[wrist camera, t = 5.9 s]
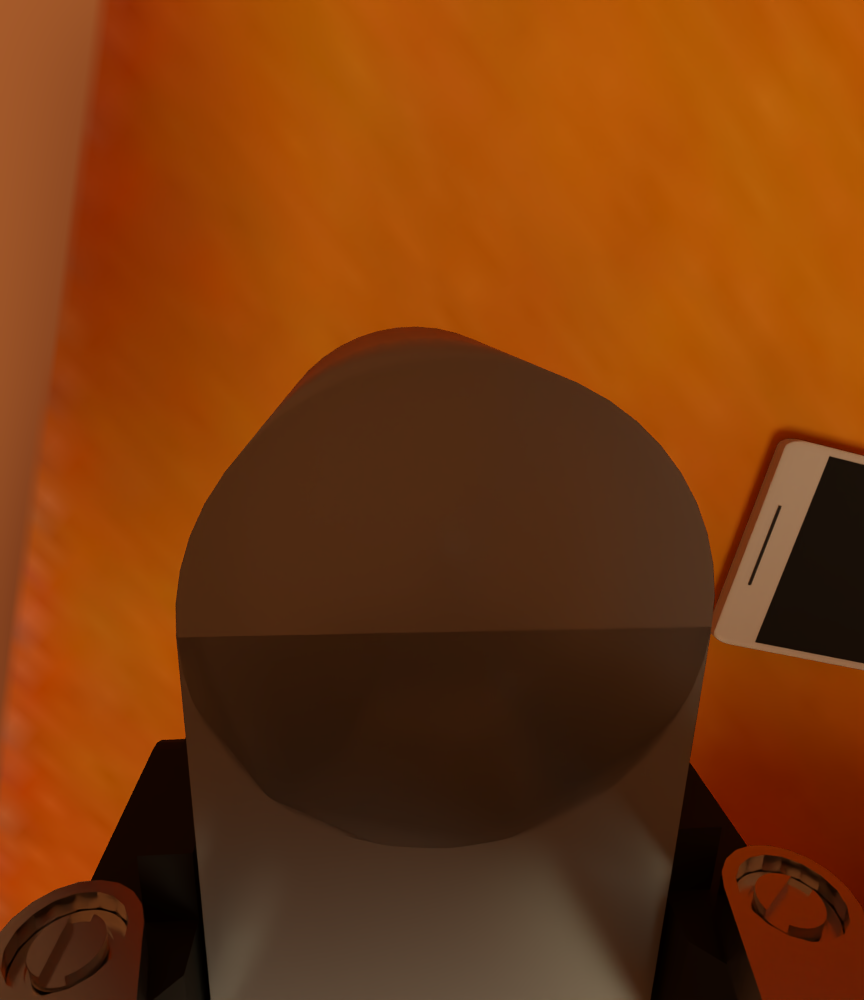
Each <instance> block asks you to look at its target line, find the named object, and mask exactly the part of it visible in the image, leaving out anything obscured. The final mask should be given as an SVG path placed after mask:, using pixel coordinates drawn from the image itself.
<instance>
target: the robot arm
mask: <svg viewBox="0 0 864 1000" xmlns="http://www.w3.org/2000/svg"><path fill="white" fill-rule="evenodd" d="M0 1000H211V996H210V986H209V975H208V965H207V954H206V944H205V933H204V923H203V912H202V902H201V891H200V881H199V870H198V860H197V849H196V839H195V828H194V818H193V807H192V797H191V786H190V776H189V765H188V755H187V744H186V738H185V739H176V740H161V741H159V742H157V744H156V746H155V747H154V749H153V751H152V753H151V755H150V757H149V759H148V761H147V763H146V766H145V768H144V770H143V772H142V774H141V776H140V778H139V780H138V782H137V784H136V787H135V789H134V791H133V793H132V795H131V797H130V799H129V801H128V803H127V806H126V808H125V810H124V812H123V814H122V816H121V818H120V820H119V822H118V825H117V827H116V829H115V831H114V833H113V835H112V837H111V839H110V841H109V844H108V846H107V848H106V850H105V852H104V854H103V856H102V858H101V860H100V863H99V865H98V867H97V869H96V871H95V873H94V875H93V877H92V879H91V881H85V882H78V883H75V884H72V885H68V886H65V887H62V888H59V889H56V890H54V891H52V892H50V893H49V894H47V895H45V896H43V897H41V898H39V899H37V900H36V901H34V902H32V903H31V904H30V905H28V906H27V907H26V908H25V909H23V910H22V911H21V912H20V913H18V914H17V915H16V916H14V917H13V918H12V919H11V920H10V921H9V922H8V924H7V925H6V926H5V927H4V928H3V929H2V931H1V932H0ZM651 1000H864V911H863V909H862V907H861V905H860V904H859V902H858V901H857V900H856V898H855V897H854V895H853V894H852V893H851V891H850V890H849V889H848V887H847V886H846V885H845V884H843V883H842V882H841V881H840V880H839V879H838V878H837V877H836V876H835V875H833V874H832V873H831V872H830V871H829V870H827V869H825V868H824V867H822V866H821V865H819V864H818V863H816V862H814V861H813V860H811V859H809V858H807V857H805V856H802V855H800V854H798V853H795V852H793V851H790V850H787V849H783V848H778V847H774V846H769V845H750V846H747V845H746V844H745V842H744V841H743V839H742V838H741V836H740V835H739V834H738V832H737V831H736V829H735V828H734V826H733V825H732V823H731V822H730V820H729V819H728V817H727V816H726V815H725V813H724V812H723V810H722V809H721V807H720V806H719V804H718V803H717V801H716V800H715V799H714V797H713V796H712V794H711V793H710V791H709V790H708V788H707V787H706V785H705V784H704V783H703V781H702V780H701V778H700V777H699V775H698V774H697V772H696V771H695V769H694V768H693V767H692V765H691V764H690V762H689V768H688V774H687V780H686V786H685V792H684V798H683V804H682V810H681V817H680V823H679V829H678V835H677V841H676V847H675V853H674V859H673V865H672V871H671V878H670V884H669V890H668V896H667V902H666V908H665V914H664V920H663V926H662V932H661V939H660V945H659V951H658V957H657V963H656V969H655V975H654V981H653V987H652V993H651Z"/></svg>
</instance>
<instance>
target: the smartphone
mask: <svg viewBox="0 0 864 1000" xmlns="http://www.w3.org/2000/svg"><path fill="white" fill-rule="evenodd" d="M711 634H712V635H713V636H714V637H716V638H717V639H718V640H720V641H721V642H724V643H727V644H731V645H737V646H742V647H747V648H752V649H757V650H762V651H767V652H773V653H778V654H783V655H788V656H793V657H798V658H804V659H809V660H814V661H819V662H824V663H829V664H834V665H840V666H845V667H850V668H855V669H860V670H864V456H863V455H859V454H855V453H851V452H847V451H843V450H839V449H835V448H831V447H827V446H823V445H819V444H815V443H811V442H807V441H803V440H799V439H785V440H782V441H780V442H779V443H778V444H777V447H776V449H775V452H774V455H773V457H772V460H771V462H770V465H769V468H768V470H767V473H766V475H765V478H764V481H763V483H762V486H761V489H760V491H759V494H758V496H757V499H756V502H755V504H754V507H753V509H752V512H751V515H750V517H749V520H748V523H747V525H746V528H745V530H744V533H743V536H742V538H741V541H740V543H739V546H738V549H737V551H736V554H735V557H734V559H733V562H732V564H731V567H730V570H729V572H728V575H727V577H726V580H725V583H724V585H723V588H722V590H721V593H720V596H719V598H718V601H717V604H716V606H715V609H714V611H713V618H712V627H711Z"/></svg>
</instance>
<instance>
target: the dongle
mask: <svg viewBox="0 0 864 1000" xmlns="http://www.w3.org/2000/svg"><path fill="white" fill-rule="evenodd" d="M714 596H715V594H714V572H713V561H712V556H711V550H710V545H709V540H708V534H707V531H706V528H705V525H704V522H703V519H702V517H701V514H700V511H699V508H698V505H697V502H696V500H695V499H694V497H693V495H692V493H691V491H690V489H689V487H688V485H687V483H686V481H685V479H684V477H683V476H682V474H681V472H680V471H679V470H678V468H677V467H676V465H675V464H674V463H673V461H672V460H671V459H670V457H669V456H668V454H667V453H666V452H665V450H664V449H663V448H662V446H661V445H660V444H659V443H658V442H657V441H656V440H655V439H654V438H653V437H652V436H651V435H650V434H649V433H648V432H647V431H646V430H645V429H644V428H643V427H642V426H641V425H640V424H639V423H638V422H637V421H636V420H634V419H633V418H632V417H630V416H629V415H628V414H626V413H625V412H624V411H623V410H621V409H620V408H619V407H617V406H616V405H615V404H613V403H612V402H611V401H609V400H608V399H606V398H604V397H602V396H600V395H598V394H597V393H595V392H593V391H591V390H589V389H588V388H586V387H584V386H582V385H580V384H578V383H577V382H574V381H572V380H569V379H567V378H565V377H562V376H560V375H557V374H555V373H553V372H550V371H548V370H545V369H543V368H541V367H538V366H536V365H533V364H531V363H529V362H526V361H524V360H521V359H519V358H517V357H514V356H512V355H509V354H507V353H505V352H502V351H500V350H497V349H495V348H493V347H490V346H488V345H485V344H483V343H481V342H478V341H476V340H473V339H471V338H468V337H465V336H463V335H460V334H457V333H454V332H450V331H445V330H441V329H436V328H425V327H402V328H393V329H387V330H382V331H377V332H374V333H371V334H367V335H364V336H361V337H358V338H356V339H354V340H352V341H350V342H348V343H346V344H344V345H342V346H340V347H338V348H337V349H335V350H334V351H332V352H331V353H329V354H328V355H326V356H325V357H323V358H322V359H321V360H320V361H319V362H318V363H316V364H315V365H314V366H313V367H312V368H311V369H310V370H309V371H308V372H307V373H306V374H305V375H304V376H303V378H302V379H301V380H300V381H299V382H298V383H297V384H296V386H295V387H294V388H293V389H292V391H291V392H290V393H289V394H288V395H287V397H286V398H285V399H284V400H283V402H282V403H281V404H280V405H279V406H278V408H277V409H276V410H275V411H274V413H273V414H272V415H271V416H270V418H269V419H268V420H267V421H266V422H265V424H264V425H263V426H262V427H261V429H260V430H259V431H258V432H257V433H256V435H255V436H254V437H253V438H252V440H251V441H250V442H249V443H248V444H247V446H246V447H245V448H244V449H243V451H242V452H241V453H240V454H239V456H238V457H237V458H236V459H235V460H234V462H233V463H232V464H231V465H230V467H229V468H228V469H227V470H226V471H225V473H224V474H223V476H222V477H221V479H220V481H219V482H218V484H217V485H216V487H215V488H214V490H213V491H212V493H211V495H210V496H209V498H208V499H207V501H206V502H205V504H204V506H203V508H202V511H201V513H200V515H199V517H198V519H197V522H196V524H195V526H194V528H193V530H192V533H191V535H190V537H189V541H188V544H187V548H186V551H185V555H184V558H183V562H182V565H181V569H180V575H179V583H178V590H177V598H176V639H177V649H178V660H179V670H180V681H181V691H182V702H183V712H184V723H185V734H186V744H187V755H188V765H189V776H190V786H191V797H192V807H193V818H194V828H195V839H196V849H197V860H198V870H199V881H200V891H201V902H202V912H203V923H204V933H205V944H206V954H207V965H208V975H209V986H210V996H211V1000H651V993H652V987H653V981H654V975H655V969H656V963H657V957H658V951H659V945H660V939H661V932H662V926H663V920H664V914H665V908H666V902H667V896H668V890H669V884H670V878H671V871H672V865H673V859H674V853H675V847H676V841H677V835H678V829H679V823H680V817H681V810H682V804H683V798H684V792H685V786H686V780H687V774H688V768H689V762H690V756H691V749H692V743H693V737H694V731H695V725H696V719H697V713H698V707H699V701H700V695H701V688H702V682H703V676H704V670H705V664H706V658H707V652H708V646H709V640H710V634H711V627H712V618H713V607H714Z"/></svg>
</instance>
